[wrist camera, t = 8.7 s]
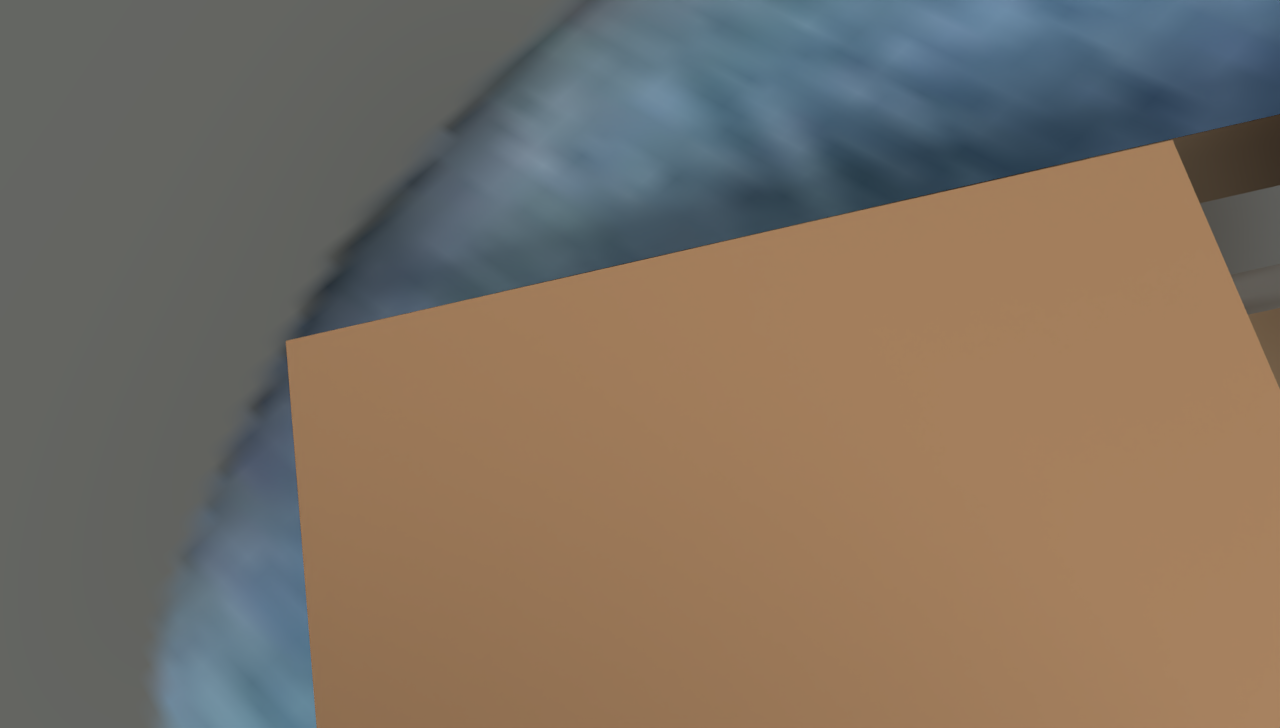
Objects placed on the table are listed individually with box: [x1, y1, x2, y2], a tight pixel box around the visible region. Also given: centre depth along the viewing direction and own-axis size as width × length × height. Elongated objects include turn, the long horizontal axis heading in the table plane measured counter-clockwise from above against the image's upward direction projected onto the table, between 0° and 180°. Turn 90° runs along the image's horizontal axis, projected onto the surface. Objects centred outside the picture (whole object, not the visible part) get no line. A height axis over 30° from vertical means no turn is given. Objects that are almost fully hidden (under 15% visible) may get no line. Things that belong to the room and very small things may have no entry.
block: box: [286, 140, 1280, 728], centre depth 10 cm, size 5×5×11 cm
